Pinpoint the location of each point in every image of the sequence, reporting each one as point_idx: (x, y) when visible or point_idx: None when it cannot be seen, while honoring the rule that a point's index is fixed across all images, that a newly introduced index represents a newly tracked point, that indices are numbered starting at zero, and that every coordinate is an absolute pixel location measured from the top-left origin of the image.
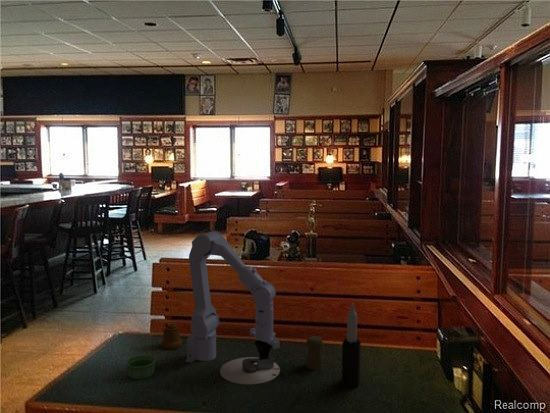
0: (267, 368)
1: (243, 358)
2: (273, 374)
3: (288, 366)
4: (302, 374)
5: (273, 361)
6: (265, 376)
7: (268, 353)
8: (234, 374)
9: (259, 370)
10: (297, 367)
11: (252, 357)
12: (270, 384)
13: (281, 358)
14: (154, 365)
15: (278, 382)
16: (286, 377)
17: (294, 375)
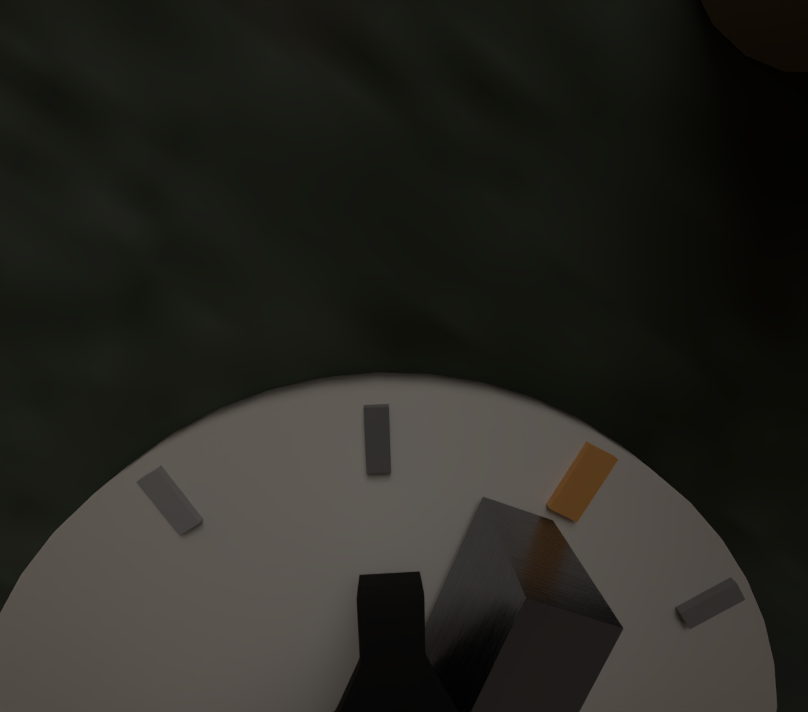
0: None
1: (4, 701)
2: (705, 613)
3: (476, 186)
4: (797, 169)
5: (595, 589)
6: (666, 704)
7: (440, 689)
8: None
9: None
10: (584, 84)
11: (29, 582)
12: None
13: (166, 103)
14: None
15: (747, 550)
16: (717, 406)
17: (744, 285)
